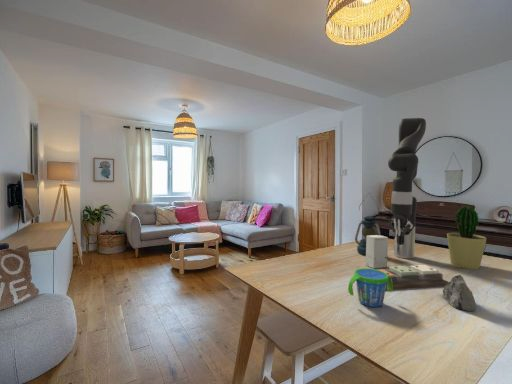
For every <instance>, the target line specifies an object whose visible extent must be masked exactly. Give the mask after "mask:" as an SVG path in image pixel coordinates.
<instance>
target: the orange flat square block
mask: <svg viewBox="0 0 512 384" xmlns="http://www.w3.org/2000/svg"><path fill="white" fill-rule="evenodd" d="M378 269H379V271H382V272H384V273H386V274H387V275H388V276H394V275H393V274H391V273H389V272H387V271H385V270H383V269H384V268H378Z"/></svg>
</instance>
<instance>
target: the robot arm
mask: <svg viewBox="0 0 512 384" xmlns="http://www.w3.org/2000/svg"><path fill="white" fill-rule="evenodd" d="M426 128H427V121H426V119H424V118H423V117H411V118H410V117H409V118H408V117H407V118H402V119H400V122H399V124H398V147H397V149H396V150H395V151H394V152H393V153H392V154H391V155H390V156H389V158H388V162H387V165H388V168H389V169H390V170H391V171H392V172H396V177H394V178H393V179H392V193H391V204H390V205H391V206H390V213H391V214H392V218H391V219H388V223H389V226H390V228H391V230H392V232H393V233H395V237H394V243H393V244H394V245H393V255H394V256H396V257H397V258H401V259H414V258H415V247H416V245H415V244H416V241H415V240H416V218H417V217H416V215H417V208H418V201H417V198H416V197H415V196H413V181H414V179H416V177H417V176H418V175H417V174H418V166H419V157H418V156H417V154H416V153H417V149H418V146H419V144H420V142H421V140H422V139H423V137H424V135H425V132H426Z"/></svg>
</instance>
